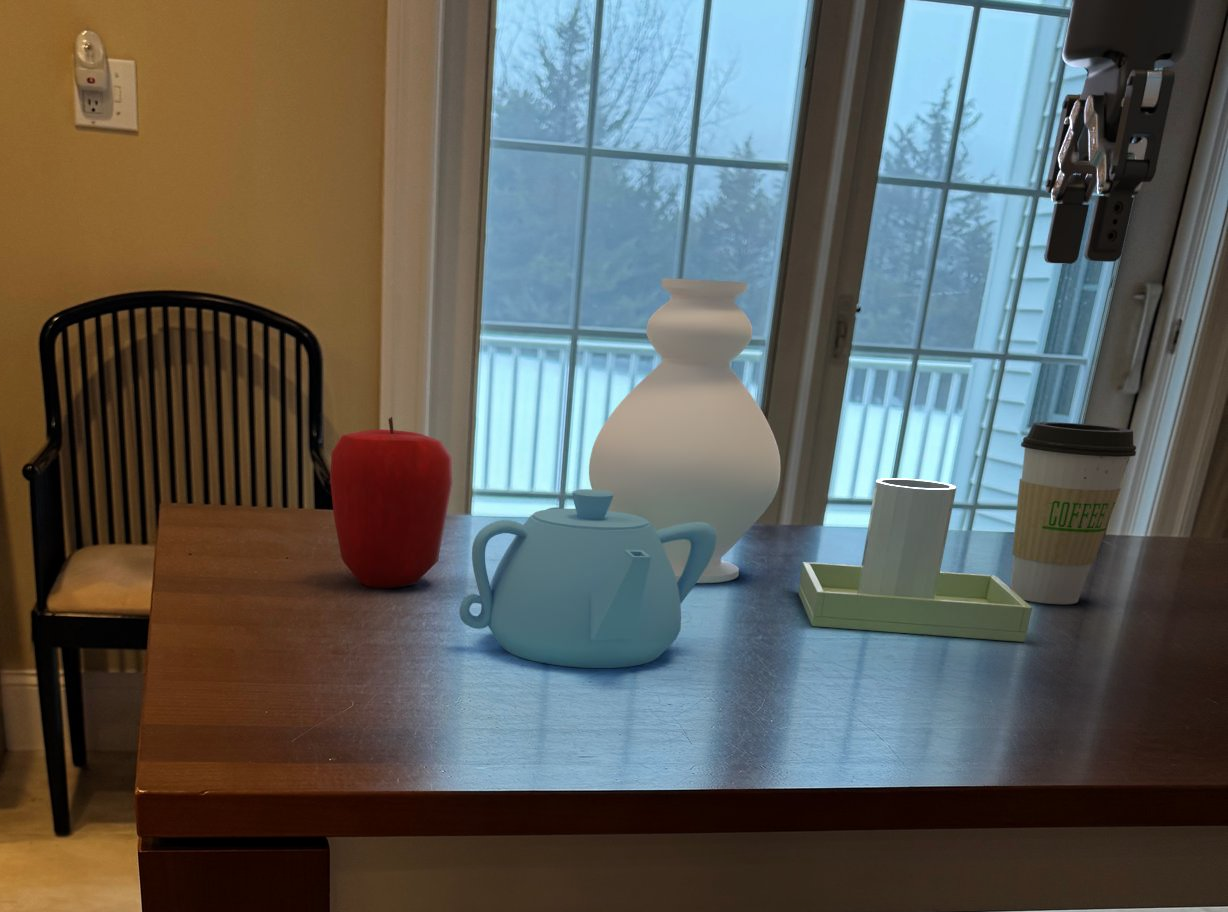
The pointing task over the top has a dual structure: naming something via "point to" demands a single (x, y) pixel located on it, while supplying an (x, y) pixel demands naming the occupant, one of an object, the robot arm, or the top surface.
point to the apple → (390, 504)
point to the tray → (915, 605)
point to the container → (906, 538)
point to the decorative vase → (691, 429)
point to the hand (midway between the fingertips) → (1079, 262)
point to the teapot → (586, 585)
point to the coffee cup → (1065, 506)
